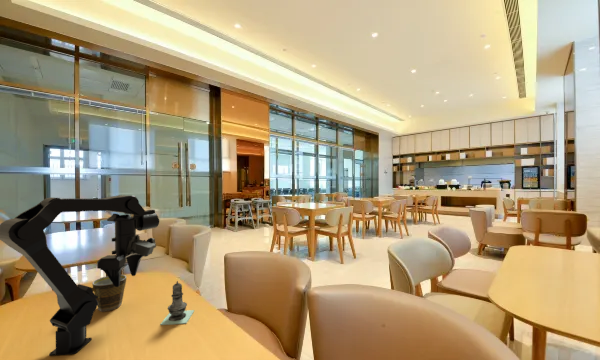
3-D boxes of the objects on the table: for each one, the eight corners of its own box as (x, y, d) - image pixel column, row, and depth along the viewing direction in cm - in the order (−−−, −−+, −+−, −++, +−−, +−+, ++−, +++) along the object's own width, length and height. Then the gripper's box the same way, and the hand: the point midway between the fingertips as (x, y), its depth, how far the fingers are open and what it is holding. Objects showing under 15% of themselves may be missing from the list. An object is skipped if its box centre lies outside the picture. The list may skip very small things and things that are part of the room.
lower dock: (186, 323, 82) (186, 322, 82) (160, 325, 81) (160, 324, 81) (194, 310, 90) (194, 310, 90) (170, 312, 89) (170, 311, 89)
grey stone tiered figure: (175, 323, 81) (174, 285, 81) (163, 318, 84) (163, 282, 84) (190, 314, 87) (190, 279, 87) (179, 310, 89) (179, 276, 89)
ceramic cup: (118, 298, 100) (118, 272, 100) (132, 304, 95) (131, 277, 95) (76, 313, 89) (76, 284, 89) (89, 321, 84) (89, 290, 84)
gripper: (135, 239, 75) (136, 292, 75) (163, 227, 94) (163, 270, 94) (95, 240, 74) (95, 293, 74) (131, 228, 93) (131, 271, 93)
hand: (125, 280), depth 84 cm, fingers open, 9 cm apart
